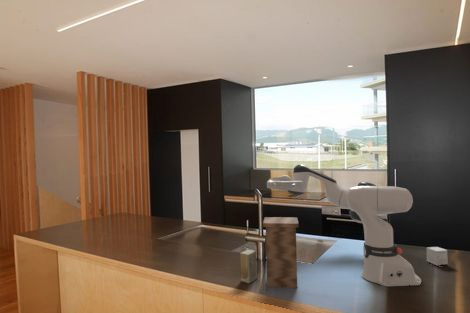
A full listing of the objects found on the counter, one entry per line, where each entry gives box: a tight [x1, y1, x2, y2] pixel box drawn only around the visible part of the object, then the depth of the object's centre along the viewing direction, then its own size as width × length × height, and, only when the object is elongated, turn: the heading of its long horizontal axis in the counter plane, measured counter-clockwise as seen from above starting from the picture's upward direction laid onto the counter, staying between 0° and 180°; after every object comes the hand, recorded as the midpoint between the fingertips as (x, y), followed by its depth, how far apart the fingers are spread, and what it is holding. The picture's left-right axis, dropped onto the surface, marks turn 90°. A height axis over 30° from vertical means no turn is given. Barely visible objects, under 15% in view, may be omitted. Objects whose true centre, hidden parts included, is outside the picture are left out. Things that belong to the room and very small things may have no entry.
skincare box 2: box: [426, 246, 449, 265], centre depth 147 cm, size 6×6×7 cm
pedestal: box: [262, 216, 299, 289], centre depth 130 cm, size 14×12×26 cm
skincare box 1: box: [239, 249, 258, 284], centre depth 133 cm, size 6×4×12 cm
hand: (285, 185), depth 169 cm, fingers open, 8 cm apart
